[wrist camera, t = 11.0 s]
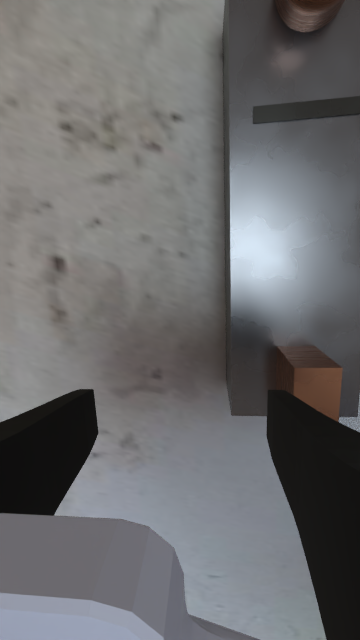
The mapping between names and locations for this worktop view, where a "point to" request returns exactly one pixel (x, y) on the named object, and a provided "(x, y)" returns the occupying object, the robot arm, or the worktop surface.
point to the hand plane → (292, 203)
